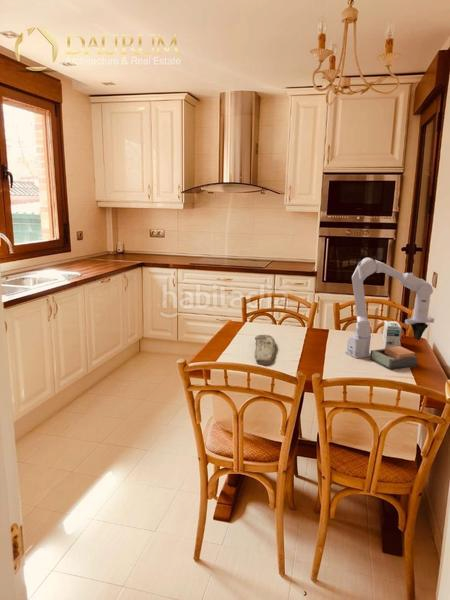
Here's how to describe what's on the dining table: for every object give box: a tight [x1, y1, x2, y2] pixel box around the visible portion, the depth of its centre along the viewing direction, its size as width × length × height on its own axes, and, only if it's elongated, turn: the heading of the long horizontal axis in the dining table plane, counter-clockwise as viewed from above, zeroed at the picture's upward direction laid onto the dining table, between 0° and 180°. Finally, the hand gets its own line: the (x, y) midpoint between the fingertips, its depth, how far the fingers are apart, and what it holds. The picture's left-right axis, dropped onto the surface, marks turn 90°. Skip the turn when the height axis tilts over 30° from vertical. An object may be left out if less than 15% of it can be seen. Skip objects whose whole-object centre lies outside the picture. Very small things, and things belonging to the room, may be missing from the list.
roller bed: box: [369, 348, 419, 371], centre depth 186 cm, size 14×13×5 cm
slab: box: [384, 345, 416, 359], centre depth 187 cm, size 8×9×2 cm
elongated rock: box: [254, 334, 277, 366], centre depth 196 cm, size 35×5×10 cm
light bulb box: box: [382, 320, 403, 348], centre depth 211 cm, size 11×7×11 cm, turn 168°
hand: (417, 339), depth 189 cm, fingers closed
